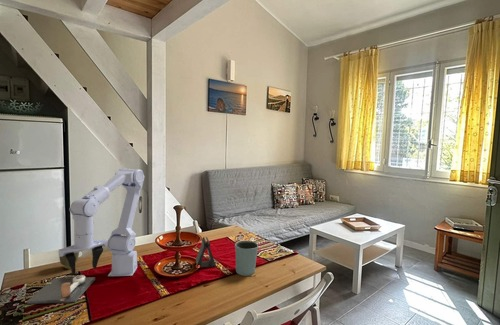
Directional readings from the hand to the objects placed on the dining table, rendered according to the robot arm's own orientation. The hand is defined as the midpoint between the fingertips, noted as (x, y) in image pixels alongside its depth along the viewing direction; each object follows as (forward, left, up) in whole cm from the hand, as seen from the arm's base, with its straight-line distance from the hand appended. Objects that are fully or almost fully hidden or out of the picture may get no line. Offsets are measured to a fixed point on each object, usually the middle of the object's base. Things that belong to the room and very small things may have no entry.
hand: (84, 270), depth 94 cm
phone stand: (-42, -22, -10) cm, 48 cm away
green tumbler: (-60, -15, -10) cm, 62 cm away
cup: (+16, -22, -10) cm, 29 cm away
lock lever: (+5, -3, -8) cm, 10 cm away
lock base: (+9, -4, -9) cm, 13 cm away
